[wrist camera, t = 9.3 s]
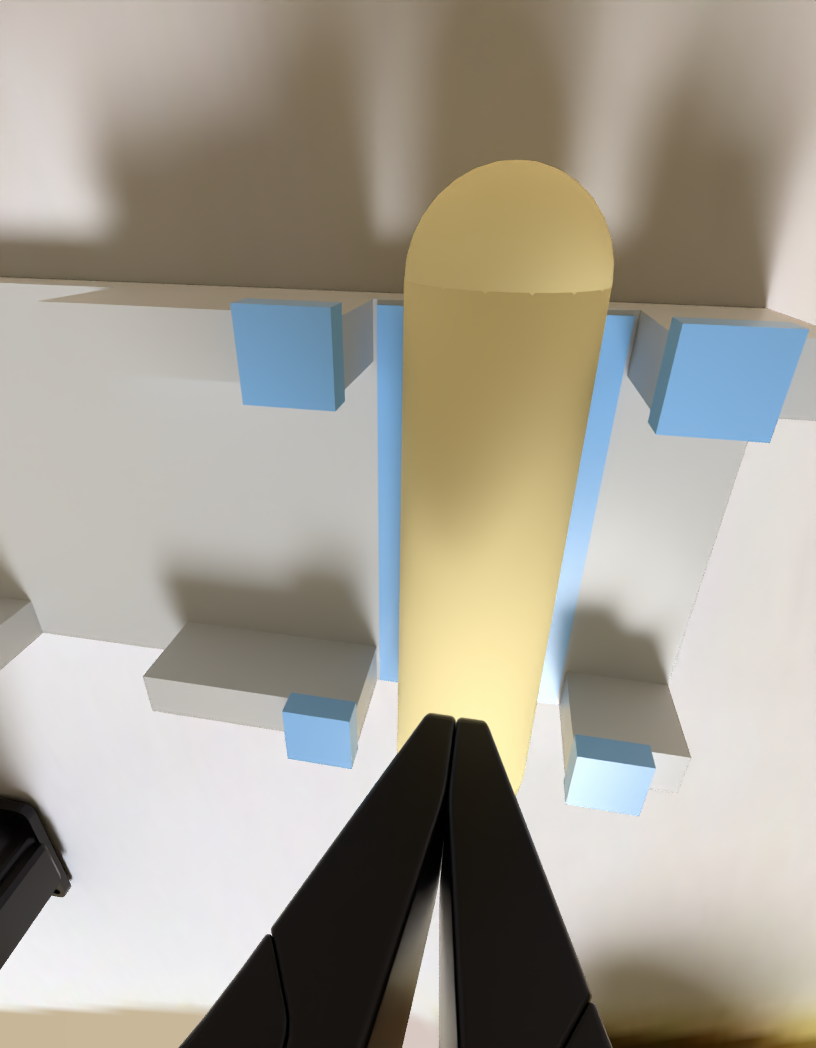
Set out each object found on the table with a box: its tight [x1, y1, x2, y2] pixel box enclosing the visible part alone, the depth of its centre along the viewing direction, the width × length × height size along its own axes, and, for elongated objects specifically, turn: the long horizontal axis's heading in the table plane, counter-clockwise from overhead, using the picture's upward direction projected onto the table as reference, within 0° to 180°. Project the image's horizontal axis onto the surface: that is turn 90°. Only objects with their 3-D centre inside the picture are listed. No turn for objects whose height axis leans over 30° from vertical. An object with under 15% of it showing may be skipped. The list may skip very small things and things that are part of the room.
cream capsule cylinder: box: [397, 160, 614, 796], centre depth 11 cm, size 14×3×3 cm, turn 179°
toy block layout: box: [0, 277, 816, 816], centre depth 13 cm, size 20×10×4 cm, turn 89°
